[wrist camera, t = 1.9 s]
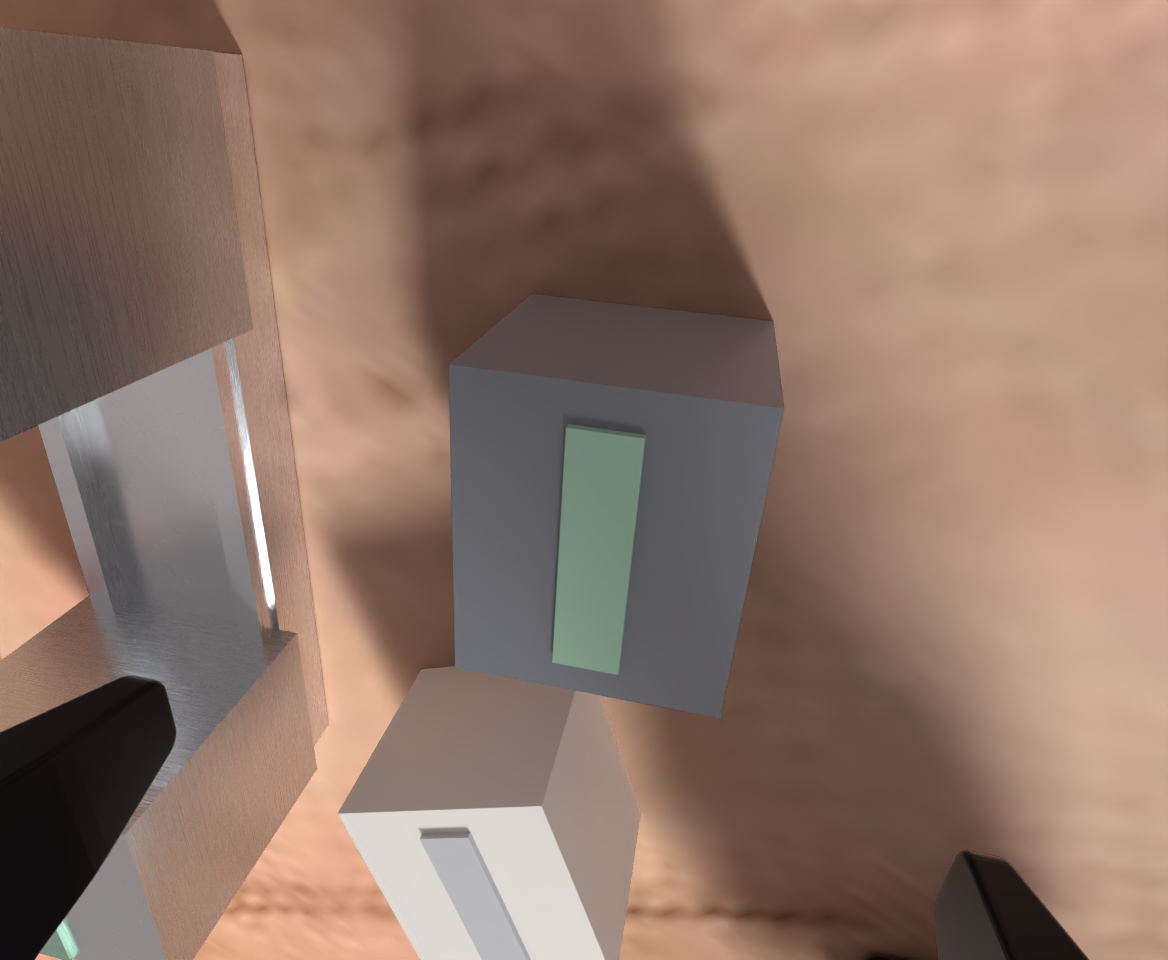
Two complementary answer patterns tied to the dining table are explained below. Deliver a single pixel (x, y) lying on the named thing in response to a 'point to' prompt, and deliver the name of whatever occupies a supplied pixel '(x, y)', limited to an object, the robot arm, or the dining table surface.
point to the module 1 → (610, 496)
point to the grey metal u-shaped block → (158, 459)
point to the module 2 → (499, 820)
